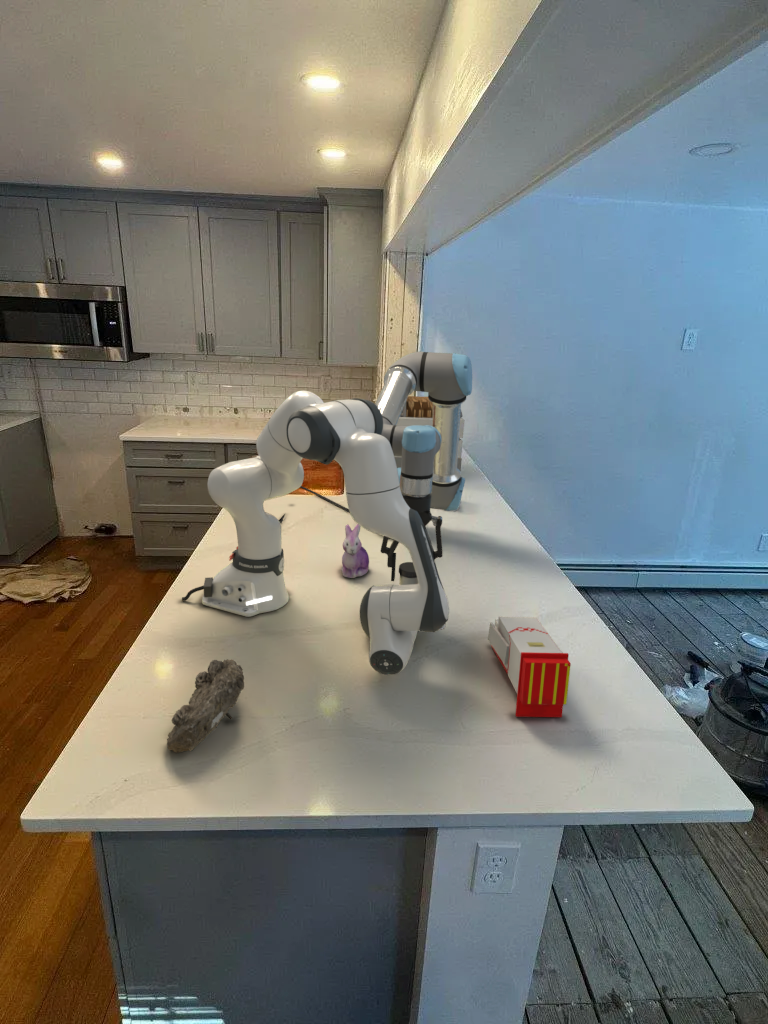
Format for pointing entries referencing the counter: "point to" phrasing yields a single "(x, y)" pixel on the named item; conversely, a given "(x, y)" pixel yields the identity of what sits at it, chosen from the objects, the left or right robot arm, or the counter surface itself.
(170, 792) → the counter surface
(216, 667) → the fossil
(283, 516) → the feather
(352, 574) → the figurine
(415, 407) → the transformer
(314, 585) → the counter surface
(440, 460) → the right robot arm
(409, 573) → the lid
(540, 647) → the toy
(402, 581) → the thermos bottle
